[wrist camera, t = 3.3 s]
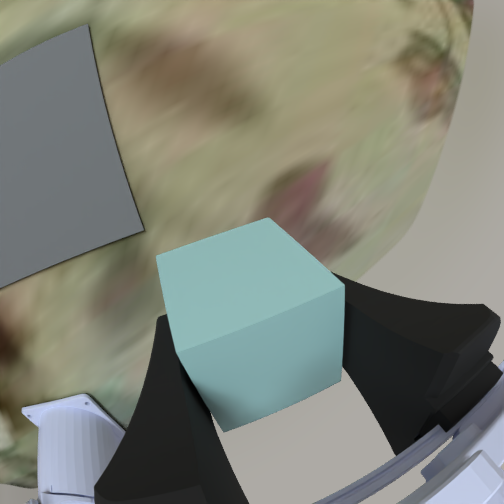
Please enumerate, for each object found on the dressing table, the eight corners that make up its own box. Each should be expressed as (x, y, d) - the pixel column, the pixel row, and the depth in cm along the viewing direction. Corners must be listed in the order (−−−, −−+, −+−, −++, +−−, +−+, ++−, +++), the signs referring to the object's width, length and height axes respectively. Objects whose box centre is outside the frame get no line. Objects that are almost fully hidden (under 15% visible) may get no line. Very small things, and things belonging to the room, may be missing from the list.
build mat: (143, 228, 16) (143, 230, 16) (-13, 292, 14) (-14, 294, 14) (88, 24, 10) (87, 23, 10) (-78, 125, 8) (-80, 125, 7)
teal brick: (283, 304, 14) (341, 380, 10) (191, 339, 13) (223, 432, 9) (268, 217, 12) (344, 285, 8) (155, 255, 11) (176, 352, 7)
